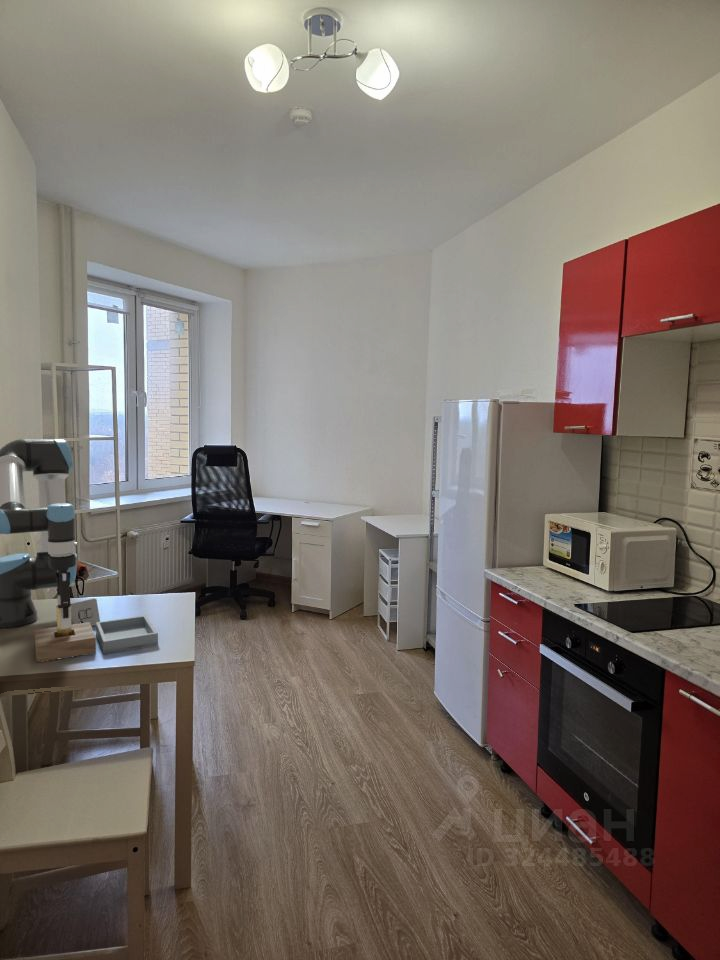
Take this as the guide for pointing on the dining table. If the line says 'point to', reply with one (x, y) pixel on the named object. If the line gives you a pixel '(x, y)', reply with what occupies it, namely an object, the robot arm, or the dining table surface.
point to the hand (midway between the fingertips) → (64, 621)
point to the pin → (60, 631)
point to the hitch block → (64, 642)
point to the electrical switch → (85, 612)
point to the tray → (126, 634)
